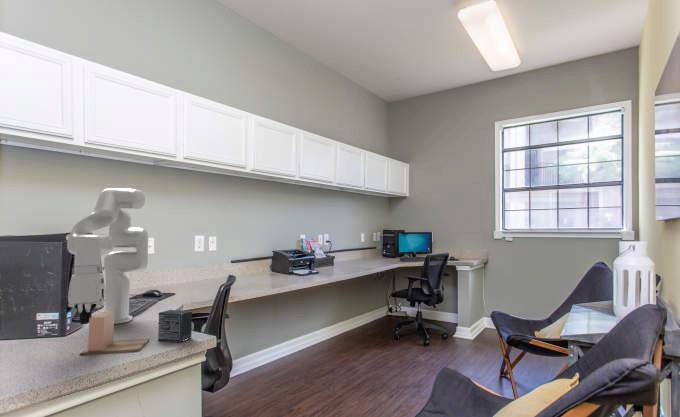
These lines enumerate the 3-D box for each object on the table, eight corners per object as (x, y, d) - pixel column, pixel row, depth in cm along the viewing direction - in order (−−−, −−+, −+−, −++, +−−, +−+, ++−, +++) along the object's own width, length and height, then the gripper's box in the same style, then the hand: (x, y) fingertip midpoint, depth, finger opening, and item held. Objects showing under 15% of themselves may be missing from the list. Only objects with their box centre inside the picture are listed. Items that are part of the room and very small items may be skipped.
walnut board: (95, 344, 133) (95, 341, 133) (149, 340, 137) (149, 338, 137) (79, 355, 121) (80, 352, 121) (139, 351, 125) (139, 348, 125)
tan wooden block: (99, 342, 132) (100, 312, 132) (113, 341, 133) (114, 311, 133) (87, 350, 123) (89, 317, 124) (103, 349, 124) (104, 317, 125)
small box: (192, 338, 140) (193, 310, 141) (180, 343, 134) (181, 314, 135) (169, 335, 143) (170, 308, 144) (157, 340, 137) (157, 312, 138)
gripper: (115, 268, 133) (113, 319, 132) (68, 269, 130) (66, 321, 129) (106, 271, 126) (104, 324, 125) (57, 272, 123) (55, 327, 122)
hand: (85, 323), depth 127 cm, fingers closed
